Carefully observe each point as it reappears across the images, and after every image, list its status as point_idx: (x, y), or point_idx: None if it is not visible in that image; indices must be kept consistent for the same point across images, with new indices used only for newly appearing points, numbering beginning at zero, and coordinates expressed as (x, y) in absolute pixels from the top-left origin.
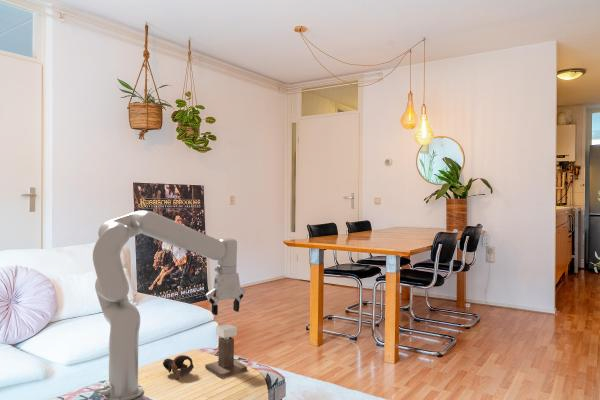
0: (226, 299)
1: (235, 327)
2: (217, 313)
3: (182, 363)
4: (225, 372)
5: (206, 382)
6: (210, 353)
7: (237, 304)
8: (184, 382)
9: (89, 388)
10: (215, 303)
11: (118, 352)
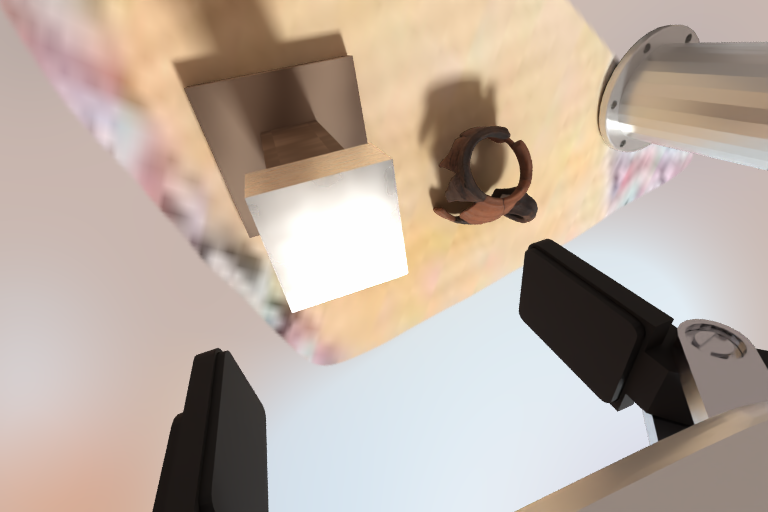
0: (610, 465)
1: (258, 205)
2: (539, 255)
3: (459, 218)
4: (322, 65)
5: (415, 40)
6: (313, 325)
7: (212, 457)
8: (482, 91)
9: (662, 176)
10: (708, 348)
11: None
